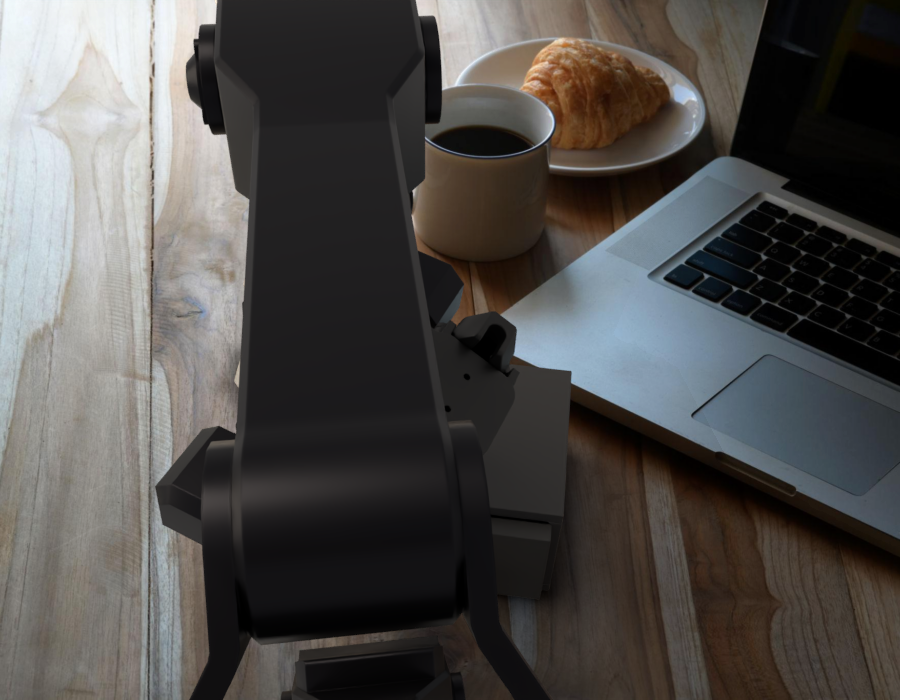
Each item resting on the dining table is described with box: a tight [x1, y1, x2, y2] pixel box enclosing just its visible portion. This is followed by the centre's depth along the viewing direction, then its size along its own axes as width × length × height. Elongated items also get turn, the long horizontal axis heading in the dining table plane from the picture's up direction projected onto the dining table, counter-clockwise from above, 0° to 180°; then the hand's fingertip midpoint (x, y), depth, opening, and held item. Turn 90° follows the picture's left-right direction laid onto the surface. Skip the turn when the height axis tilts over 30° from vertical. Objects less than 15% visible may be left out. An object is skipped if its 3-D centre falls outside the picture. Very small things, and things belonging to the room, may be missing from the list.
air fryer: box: [483, 363, 572, 592], centre depth 61 cm, size 12×12×9 cm
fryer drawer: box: [491, 515, 552, 601], centre depth 60 cm, size 12×10×7 cm
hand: (321, 478), depth 50 cm, fingers closed
